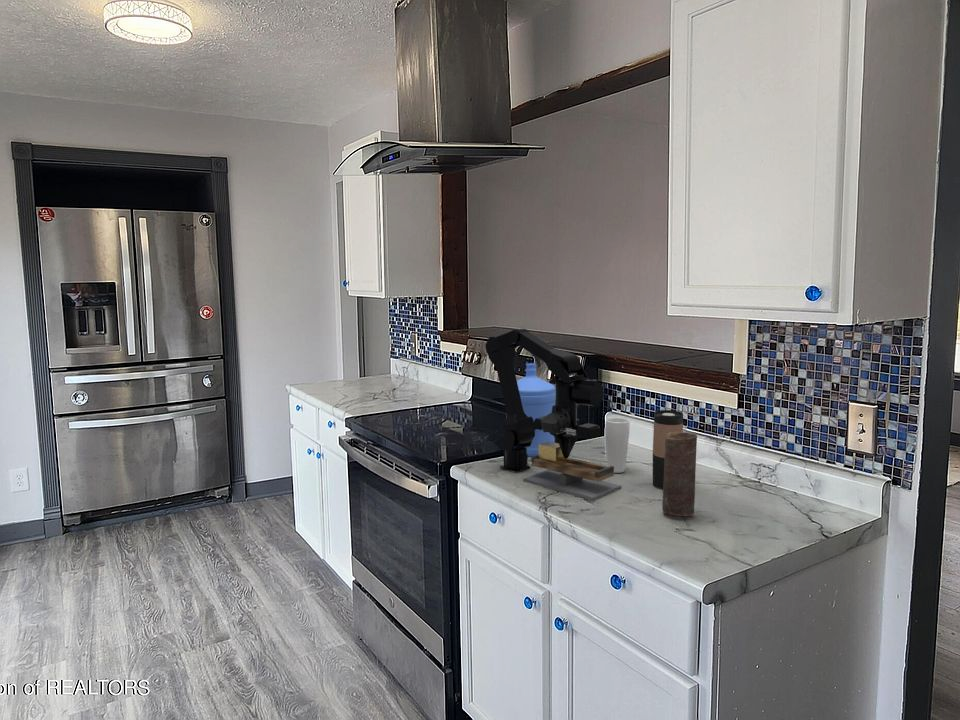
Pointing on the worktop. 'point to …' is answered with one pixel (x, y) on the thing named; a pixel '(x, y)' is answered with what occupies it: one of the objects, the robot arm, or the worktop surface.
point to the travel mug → (663, 440)
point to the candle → (679, 474)
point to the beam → (576, 468)
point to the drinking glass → (617, 443)
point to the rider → (551, 452)
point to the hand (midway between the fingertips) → (566, 458)
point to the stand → (572, 484)
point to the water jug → (536, 404)
